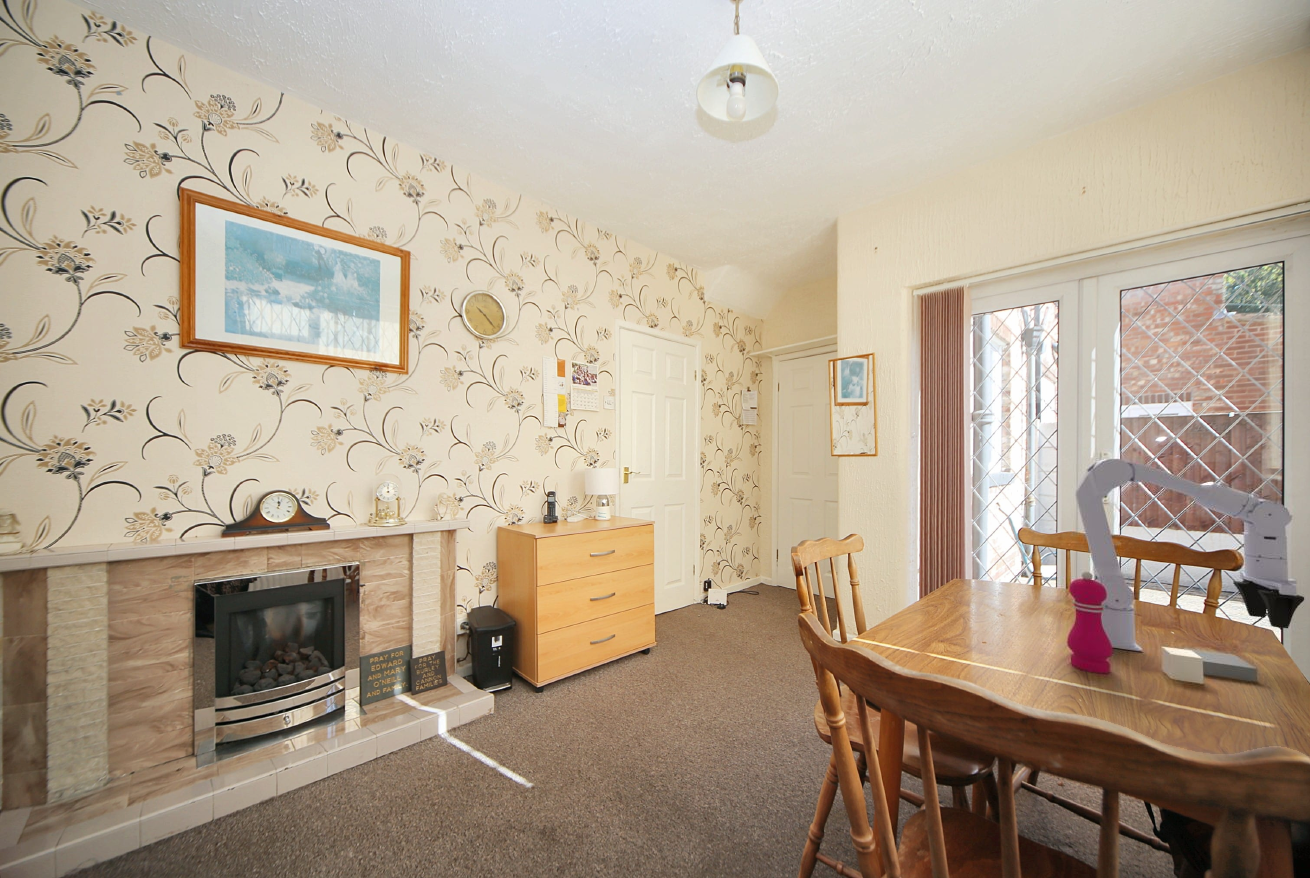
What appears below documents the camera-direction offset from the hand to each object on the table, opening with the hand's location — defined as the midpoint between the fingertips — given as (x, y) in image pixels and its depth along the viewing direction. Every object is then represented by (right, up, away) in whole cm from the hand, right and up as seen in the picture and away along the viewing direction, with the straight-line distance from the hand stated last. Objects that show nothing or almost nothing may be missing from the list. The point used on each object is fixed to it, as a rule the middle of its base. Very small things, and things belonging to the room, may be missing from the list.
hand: (1267, 621), depth 103 cm
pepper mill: (-37, -10, 0) cm, 38 cm away
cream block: (-22, -10, -4) cm, 25 cm away
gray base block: (-11, -10, -1) cm, 15 cm away
